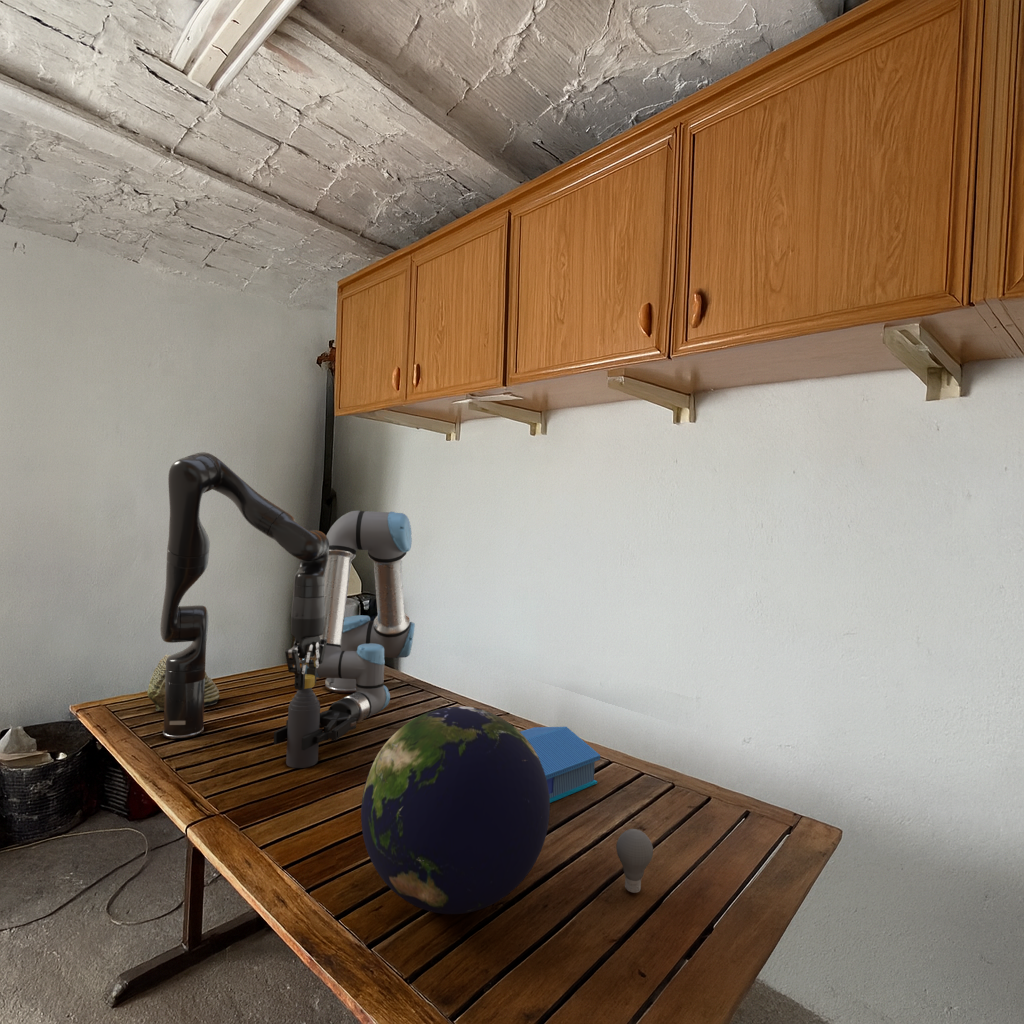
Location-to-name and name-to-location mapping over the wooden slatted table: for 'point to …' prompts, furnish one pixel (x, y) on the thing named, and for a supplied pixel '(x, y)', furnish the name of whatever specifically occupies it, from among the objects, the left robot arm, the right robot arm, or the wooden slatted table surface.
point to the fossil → (158, 687)
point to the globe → (455, 810)
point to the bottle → (302, 728)
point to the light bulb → (634, 857)
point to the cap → (309, 681)
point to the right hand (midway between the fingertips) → (289, 741)
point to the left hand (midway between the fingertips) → (305, 686)
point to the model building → (563, 759)
